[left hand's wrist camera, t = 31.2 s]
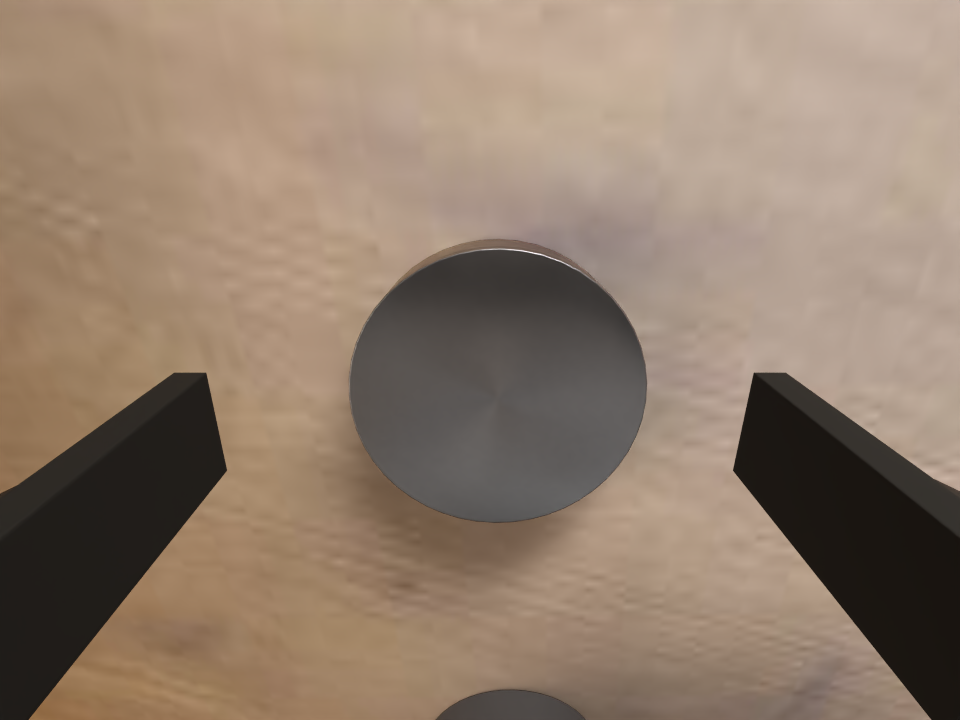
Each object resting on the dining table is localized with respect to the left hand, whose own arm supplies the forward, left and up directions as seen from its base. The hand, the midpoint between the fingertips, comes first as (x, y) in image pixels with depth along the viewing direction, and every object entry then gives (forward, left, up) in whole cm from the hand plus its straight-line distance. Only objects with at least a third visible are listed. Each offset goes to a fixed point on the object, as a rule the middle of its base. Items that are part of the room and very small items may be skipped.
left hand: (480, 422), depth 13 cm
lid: (+1, -1, -4) cm, 4 cm away
